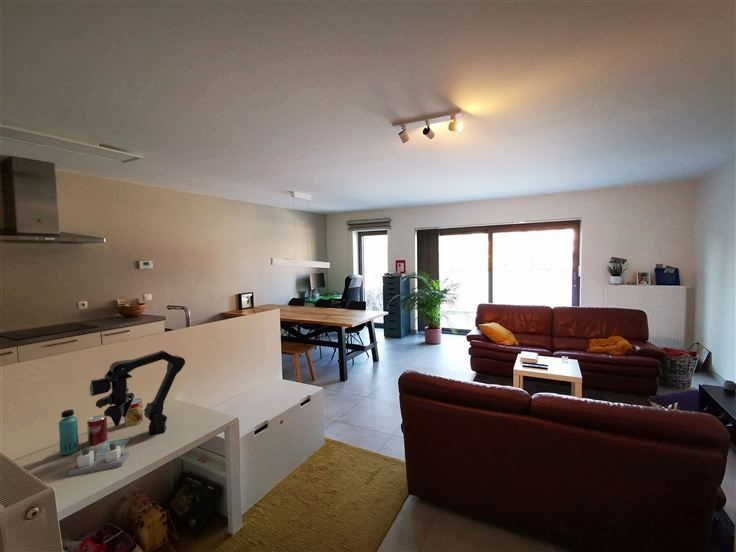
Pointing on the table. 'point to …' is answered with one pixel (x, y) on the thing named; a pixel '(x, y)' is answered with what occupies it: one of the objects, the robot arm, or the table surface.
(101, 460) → the pdu strip
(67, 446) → the beverage bottle
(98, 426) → the soda can
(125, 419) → the canned food
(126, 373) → the robot arm
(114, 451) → the plug
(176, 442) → the table surface
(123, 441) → the tray
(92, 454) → the twin plug
